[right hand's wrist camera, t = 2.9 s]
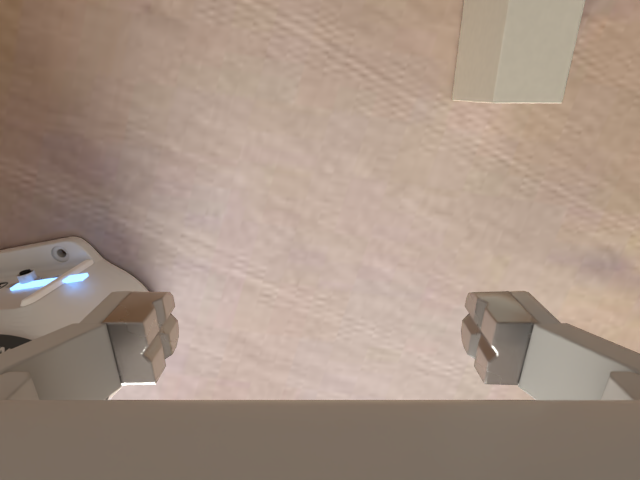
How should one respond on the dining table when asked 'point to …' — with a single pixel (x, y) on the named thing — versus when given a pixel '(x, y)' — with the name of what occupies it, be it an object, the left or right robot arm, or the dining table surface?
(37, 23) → the dining table surface
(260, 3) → the dining table surface
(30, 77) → the dining table surface
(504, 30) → the bar
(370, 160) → the dining table surface
